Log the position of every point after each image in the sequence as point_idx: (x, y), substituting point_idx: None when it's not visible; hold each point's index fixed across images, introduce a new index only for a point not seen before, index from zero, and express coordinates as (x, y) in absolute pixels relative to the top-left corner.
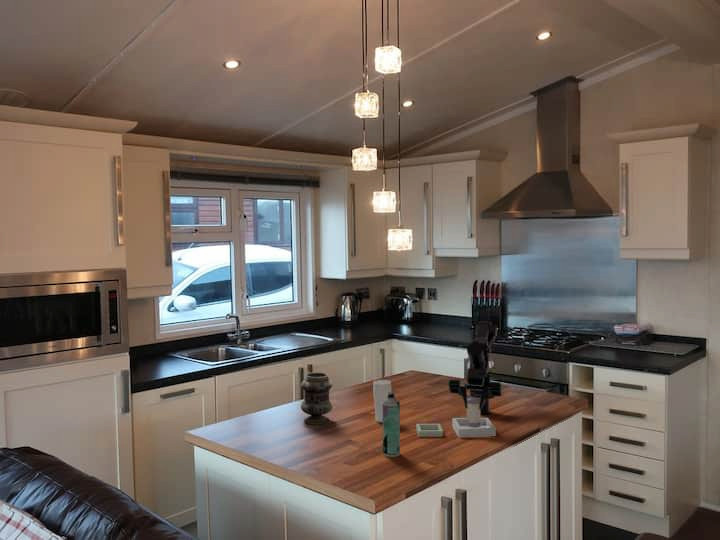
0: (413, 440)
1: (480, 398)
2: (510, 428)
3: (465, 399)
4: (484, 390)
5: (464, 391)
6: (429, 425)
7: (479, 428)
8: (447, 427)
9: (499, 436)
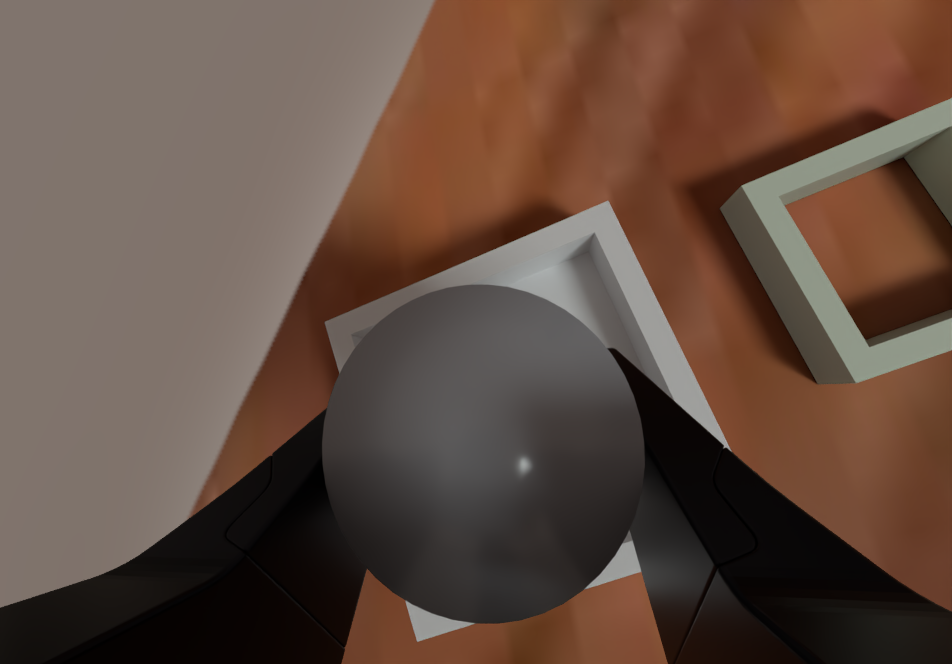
0: (920, 43)
1: (326, 439)
2: None
3: (657, 425)
4: (53, 621)
5: (825, 617)
6: (942, 319)
7: (444, 281)
8: (762, 456)
9: None
